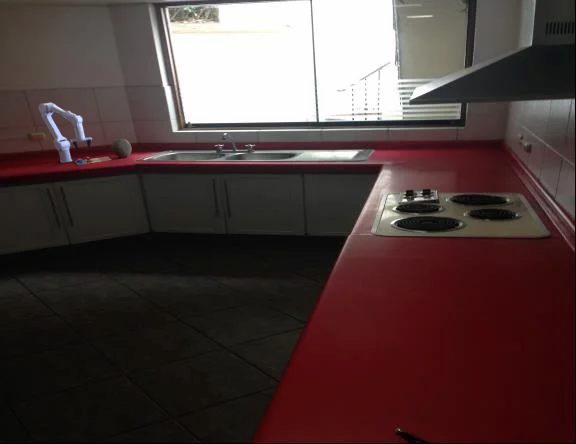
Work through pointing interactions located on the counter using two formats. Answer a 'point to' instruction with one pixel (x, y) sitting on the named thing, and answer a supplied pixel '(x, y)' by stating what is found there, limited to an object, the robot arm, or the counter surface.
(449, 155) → the counter surface
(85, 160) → the board
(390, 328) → the counter surface
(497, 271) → the counter surface
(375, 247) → the counter surface
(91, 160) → the red spoon
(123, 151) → the cantaloupe
